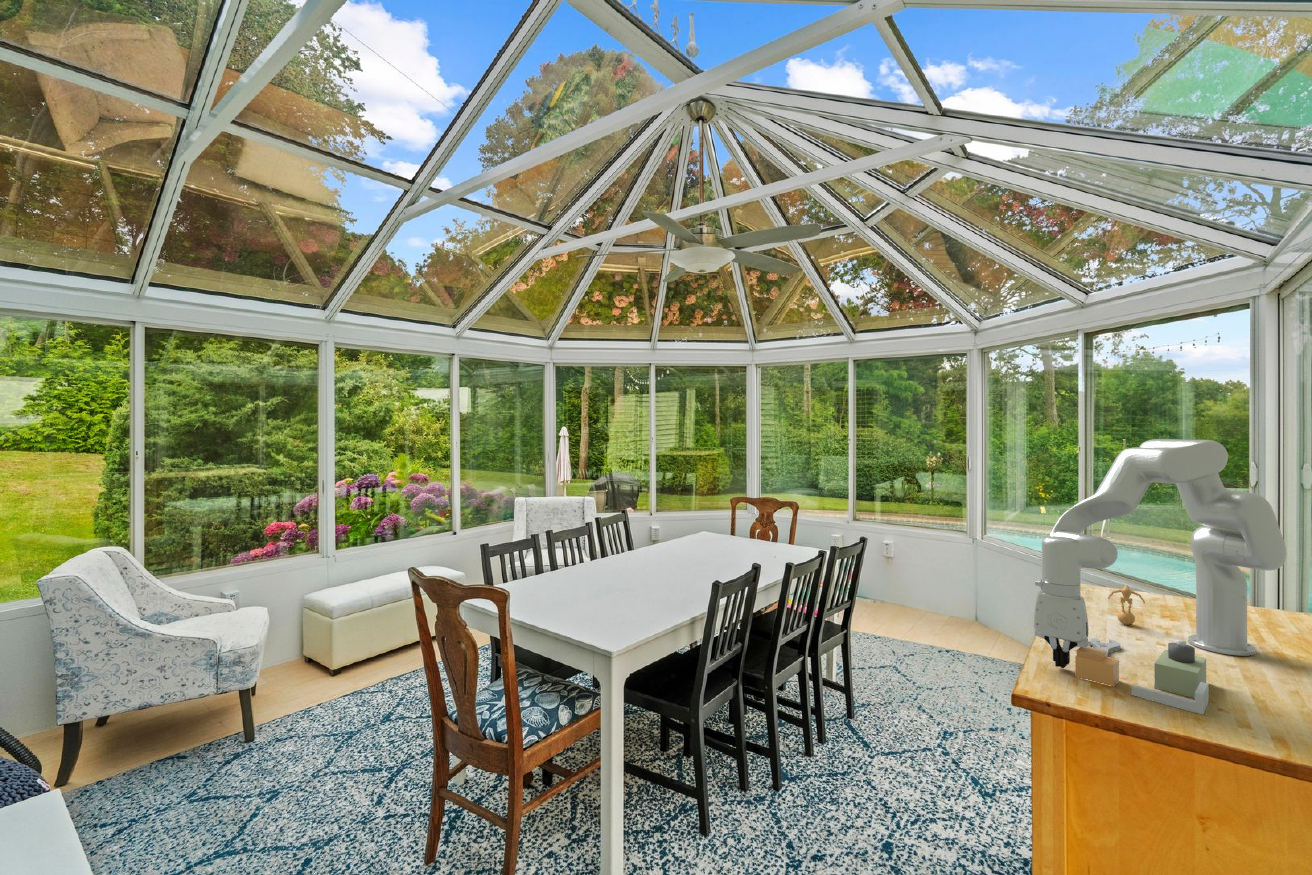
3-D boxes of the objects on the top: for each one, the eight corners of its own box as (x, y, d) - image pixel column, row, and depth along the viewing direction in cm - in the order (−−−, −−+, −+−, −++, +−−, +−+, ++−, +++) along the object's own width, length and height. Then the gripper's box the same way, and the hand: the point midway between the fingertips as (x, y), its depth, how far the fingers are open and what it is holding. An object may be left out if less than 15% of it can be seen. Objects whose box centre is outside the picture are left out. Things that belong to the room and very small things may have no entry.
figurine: (1144, 625, 167) (1144, 584, 167) (1145, 631, 162) (1145, 588, 162) (1108, 620, 172) (1108, 580, 172) (1108, 625, 167) (1107, 584, 167)
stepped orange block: (1081, 671, 136) (1081, 644, 136) (1119, 681, 131) (1118, 653, 131) (1075, 677, 133) (1075, 650, 133) (1113, 687, 128) (1113, 659, 127)
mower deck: (1151, 669, 137) (1151, 628, 136) (1216, 684, 128) (1216, 641, 128) (1131, 695, 124) (1131, 650, 123) (1202, 714, 115) (1202, 666, 115)
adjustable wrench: (1104, 677, 134) (1104, 670, 134) (1070, 669, 138) (1070, 662, 138) (1122, 648, 151) (1122, 641, 151) (1091, 641, 156) (1091, 635, 156)
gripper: (1019, 585, 140) (1020, 660, 140) (1095, 599, 129) (1095, 680, 129) (1030, 580, 145) (1031, 652, 145) (1104, 592, 134) (1104, 671, 134)
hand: (1061, 665), depth 137 cm, fingers closed
